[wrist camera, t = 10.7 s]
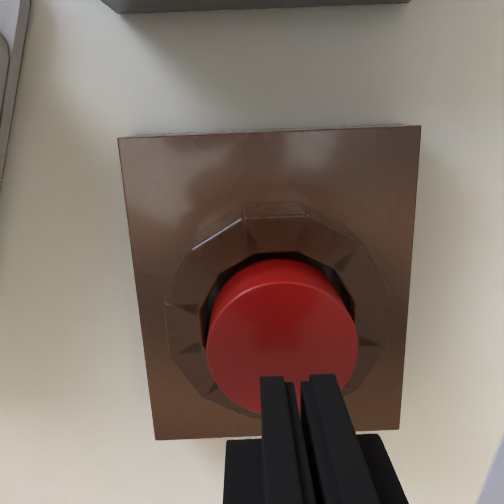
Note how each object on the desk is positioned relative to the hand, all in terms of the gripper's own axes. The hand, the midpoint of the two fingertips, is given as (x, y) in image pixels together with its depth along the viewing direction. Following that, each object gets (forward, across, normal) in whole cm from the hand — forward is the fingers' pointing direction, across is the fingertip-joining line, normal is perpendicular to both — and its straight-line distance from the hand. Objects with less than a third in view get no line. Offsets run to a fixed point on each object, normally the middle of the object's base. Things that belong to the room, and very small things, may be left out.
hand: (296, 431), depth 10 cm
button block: (+9, 0, 0) cm, 9 cm away
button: (+5, 0, 0) cm, 5 cm away
